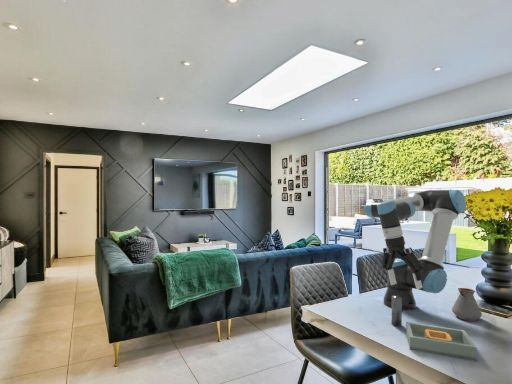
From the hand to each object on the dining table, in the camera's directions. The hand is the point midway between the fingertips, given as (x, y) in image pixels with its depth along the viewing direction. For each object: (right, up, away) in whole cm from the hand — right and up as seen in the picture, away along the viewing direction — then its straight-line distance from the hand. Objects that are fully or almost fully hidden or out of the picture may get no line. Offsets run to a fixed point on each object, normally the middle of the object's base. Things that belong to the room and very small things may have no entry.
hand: (406, 286), depth 131 cm
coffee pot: (+30, -18, +8) cm, 36 cm away
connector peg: (-3, -17, +2) cm, 17 cm away
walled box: (+3, -17, -17) cm, 24 cm away
